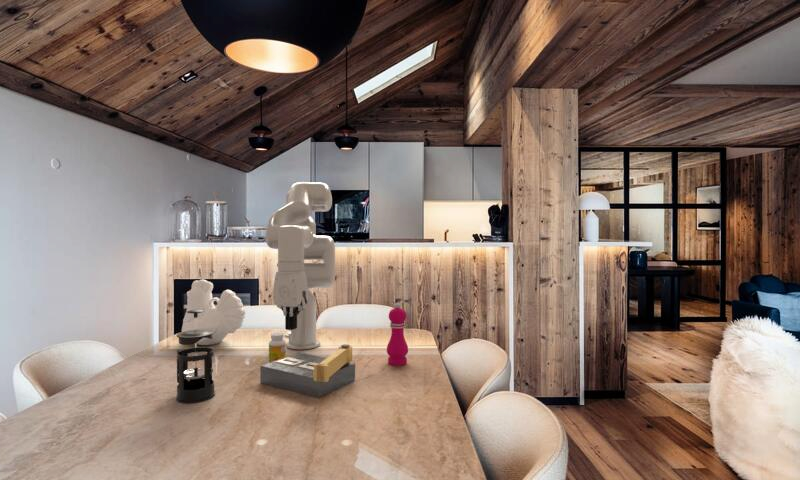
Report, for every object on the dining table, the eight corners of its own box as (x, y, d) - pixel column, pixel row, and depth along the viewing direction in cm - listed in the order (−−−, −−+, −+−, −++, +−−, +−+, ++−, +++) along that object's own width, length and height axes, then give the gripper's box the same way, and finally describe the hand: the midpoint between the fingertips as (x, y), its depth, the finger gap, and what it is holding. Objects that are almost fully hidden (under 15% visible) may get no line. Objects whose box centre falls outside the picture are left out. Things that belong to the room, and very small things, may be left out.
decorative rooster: (172, 345, 166) (171, 280, 165) (206, 336, 180) (206, 276, 179) (220, 353, 155) (219, 284, 154) (252, 343, 169) (252, 280, 169)
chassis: (260, 382, 125) (260, 364, 125) (299, 368, 139) (299, 351, 139) (318, 398, 114) (318, 377, 114) (355, 380, 128) (355, 362, 128)
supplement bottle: (265, 364, 143) (265, 335, 142) (275, 360, 148) (275, 331, 147) (278, 366, 141) (278, 336, 140) (288, 361, 146) (288, 333, 145)
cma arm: (341, 360, 129) (341, 343, 129) (354, 361, 129) (354, 344, 128) (313, 383, 110) (313, 363, 110) (327, 384, 109) (327, 364, 109)
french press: (224, 393, 117) (224, 308, 116) (194, 406, 108) (194, 314, 108) (194, 386, 122) (194, 305, 121) (163, 398, 113) (163, 310, 113)
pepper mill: (408, 360, 148) (409, 301, 148) (407, 366, 141) (407, 305, 141) (388, 359, 149) (388, 301, 148) (385, 365, 142) (385, 305, 141)
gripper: (263, 267, 129) (263, 328, 129) (301, 269, 121) (301, 334, 121) (282, 265, 135) (282, 323, 135) (319, 267, 127) (319, 329, 128)
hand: (291, 328), depth 128 cm, fingers closed
